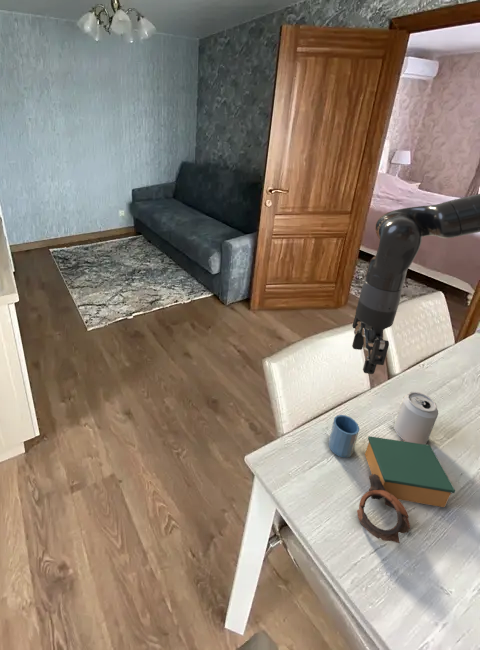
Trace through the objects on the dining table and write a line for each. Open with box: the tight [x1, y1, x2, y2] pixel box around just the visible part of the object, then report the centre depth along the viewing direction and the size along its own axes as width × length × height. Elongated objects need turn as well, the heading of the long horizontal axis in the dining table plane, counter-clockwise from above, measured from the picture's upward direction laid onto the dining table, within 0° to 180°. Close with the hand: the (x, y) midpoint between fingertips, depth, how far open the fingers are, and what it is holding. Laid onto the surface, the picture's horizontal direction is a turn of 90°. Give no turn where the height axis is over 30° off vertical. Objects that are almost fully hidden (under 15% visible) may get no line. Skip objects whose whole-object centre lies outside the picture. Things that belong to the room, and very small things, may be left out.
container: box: [364, 435, 456, 508], centre depth 79 cm, size 14×11×6 cm
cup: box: [327, 414, 360, 459], centre depth 86 cm, size 6×6×8 cm
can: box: [393, 391, 439, 445], centre depth 88 cm, size 8×8×12 cm
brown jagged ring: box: [356, 473, 411, 544], centre depth 72 cm, size 12×10×8 cm
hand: (362, 359), depth 82 cm, fingers open, 8 cm apart
